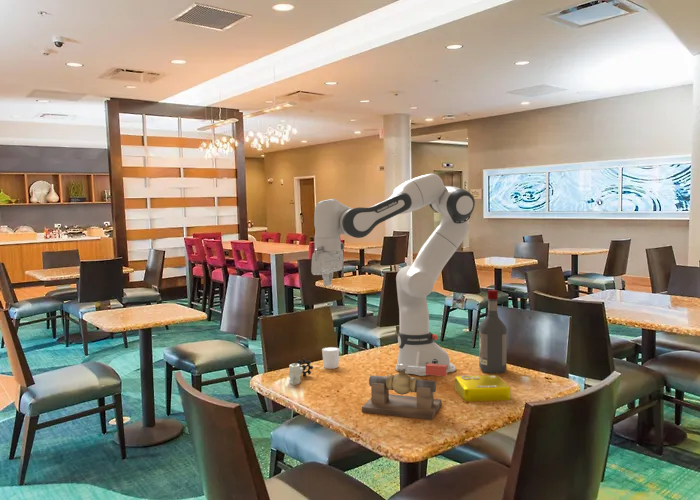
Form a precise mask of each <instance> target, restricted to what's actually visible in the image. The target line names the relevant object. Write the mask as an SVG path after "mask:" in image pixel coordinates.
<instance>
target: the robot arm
mask: <svg viewBox="0 0 700 500" xmlns="http://www.w3.org/2000/svg"><path fill="white" fill-rule="evenodd" d="M475 204H476V201H475V197H474V196H473V194H472V193H470V191H468V190H467V189H463V188H459V187H457V186H453V185H452V186H450V185H445V184H444V181H443V179H442V178H441V176H439V175H438V174H436V173H426V174H422V175H420V176H419V175H418V176H416V177H413V178H411V179H409V180H406V181H404V182H402V183H400V184H399V185H398V186H396V187H395V188H393V189H392V192H391V196H390V197H388V198H386V199H384V200H383V201H380V202H378V203H376V204H373V205H372V206H368V207H363V206H362V207H354V208H352V207H350V206H348V205H345V204H343V203H342V202H340V201H339V200H338V199H336V198H330V199H325V200H320V201H319V202H317V203H316V204H315V207H314V216H313V218H314V219H313V222H314V223H313V224H314V225H313V226H314V230H315V231H314V232H315V234H314V252H313V253H312V257H311V268H310V269H311V274H312V275H313V276H322V280H323V286H325V287H330V286H332V284H333V277H334V272H339V271H342V270H343V268H344V252H343V251H344V250H345V244H344V243H343V242H342V241H341V235H345V236H347V237H348V236H349V237H353V238H356V239H360V238H364V237H367V236H368V235H369V234H370V233H371V232H372V231H374V229H375V228H376V227H377V226H378V225H380V224H381V223H383V222H385V221H388V220H390V219H391V218H393V217H395V216H397V215H404V214H407V213H411V212H416V211H418V210H420V209H422V208H424V207H427V206H429V207H430V209H432V211H434V212H435V213H439V214H440V215H441V220H440V221H439V224H438V226H436V228H435V229H434V230H433V232H431V234H430V235H429V236H428V238H427V239H426V241H425V242H424V243H423V244H422V245H421V247H420V248H419V252H418V253H417V255H416V257H415V259H414V261H413V263H412V265H411V264H409V265H405V266H403V267H402V268H400V269H399V270H398V272H397V273H396V277H395V281H396V293H397V303H398V309H399V310H398V313H399V331H398V337H397V343H398V344H397V345H398V356H397V362H396V366H395V370H396V371H397V364H398V363H406V364H407V365H410V366H422V367H426V364H427V363H430V364H443V365H448V373H452V372H453V373H454V372H456V369H457V368H456V366H455V364H454V363H452V362H451V361H450V357H449V354H448V352H447V351H446V350H445V349H444V348H443V347H441V346H440V345H438V344H437V343H436V342H434V341H437V340H438V339H439V336H438V335H437V334H436V333H432V332H430V311H429V308H428V302H427V296H429V295H431V292H433V289H434V286H435V284H436V283H437V280H438V278H439V277H440V275H441V273H442V271H443V269H444V267H446V265H447V263H448V262H449V261H450V259H451V258H452V257H453V255H454V254H455V253H456V251H457V250H458V249H459V248H460V246H461V244H462V243H463V241H464V239H465V237H467V234H468V232H469V229H470V224H469V222H468V220H470V219H471V215H472V214H473V212H474V210H475V206H476V205H475ZM405 373H406V374H408V375H416V376H421V377H424V376H427V375H426V372H424V371H413V370H407V371H405Z"/></svg>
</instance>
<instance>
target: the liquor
mask: <svg viewBox="0 0 700 500" xmlns="http://www.w3.org/2000/svg"><path fill="white" fill-rule="evenodd" d="M498 292H499V291H498V290H497V289H488V290H487V300H488V305H487V308H488V309H487V316H486V317H485V318H484V319H483V320H482V321H481V322H480V323H479V326H478V329H479V330H478V331H479V332H478V336H479V337H478V344H479V345H478V347H479V349H478V357H479V358H478V359H479V361H478V362H479V363H478V364H479V365H478V366H479V369H480V370H481V372H482V373H486V374H503V373H506V371H507V349H508V348H507V345H508V343H507V339H508V338H507V333H508V332H507V330H508V329H507V327H506V325H505V324H504V322H503V321H502V320H501V319H500V317H499V313H498V299H499V297H498V296H499V293H498Z"/></svg>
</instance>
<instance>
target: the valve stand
mask: <svg viewBox="0 0 700 500" xmlns="http://www.w3.org/2000/svg"><path fill="white" fill-rule="evenodd" d="M368 385H369V387H371V388H370V391H371V392H370V394H371V395H370V396H371V397H370V399H369V400H368V401H367V402H365V403H364V404H363V405H362V406H361V413H369V414H377V415H384V416H393V417H394V416H395V417H404V418H413V419H418V420H419V419H420V420H429V421H433V419H434V417H435V415H436V414H437V413H438V411H439V409H440V408H441V407H442V404H443V403H442V399H439V398H434V397H435V396H434V394H435V393H436V390H437V381H436V380H428V379H427V380H425V379H419V378H418V377H415V376H410V374H407V373H405V371H403V372H401V371H398V373H397V374H395V375H394V374H387V376H384V375H383V376H382V375H374V374H373V375H370V376H369V379H368ZM390 391H394V392H395V393H397V394H390V393H389V392H390ZM409 393H416V396H411V395H410V396H409V395H407V394H409Z"/></svg>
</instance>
